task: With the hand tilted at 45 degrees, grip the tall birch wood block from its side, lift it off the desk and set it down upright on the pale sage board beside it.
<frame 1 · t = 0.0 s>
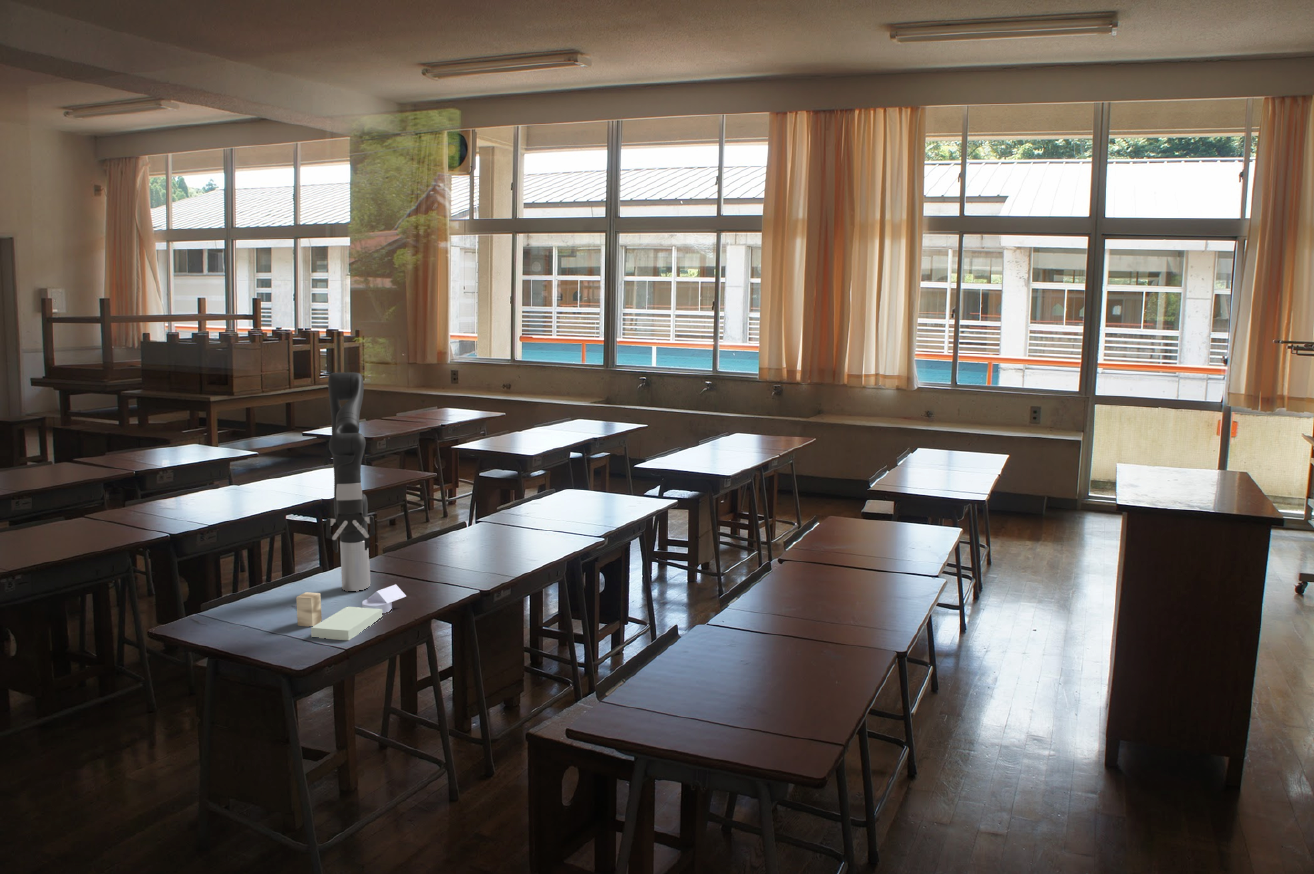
hand: (351, 551, 277), 22 cm above the table, tool pointing down, fingers open, 8 cm apart
birch block: (309, 623, 278), on the table
wedge on round base: (382, 610, 292), on the table
sage board: (348, 627, 275), on the table
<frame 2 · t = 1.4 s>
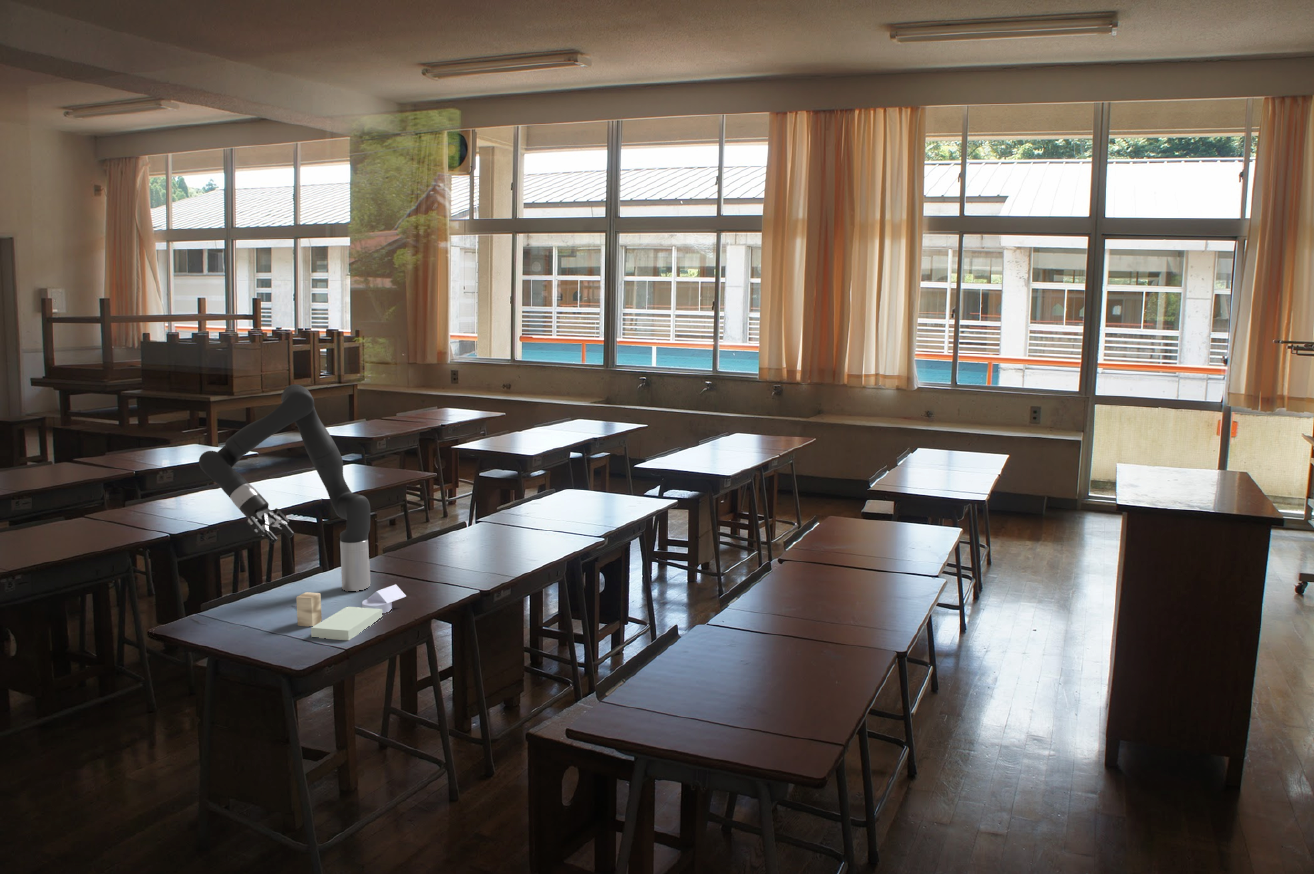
hand: (283, 538, 283), 25 cm above the table, tool tilted 45°, fingers open, 8 cm apart
nothing on the table moved.
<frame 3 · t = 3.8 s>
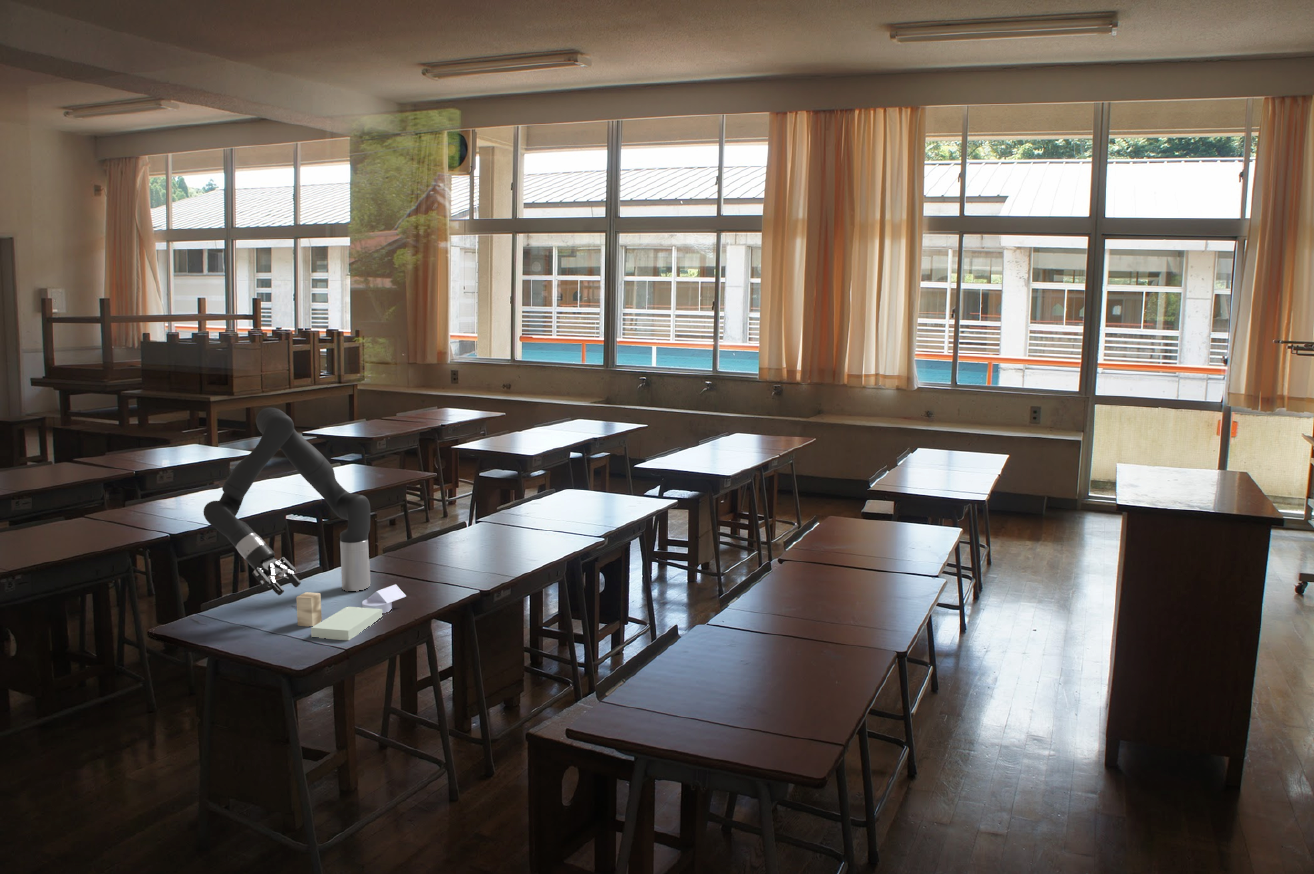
hand: (290, 589, 278), 10 cm above the table, tool tilted 45°, fingers open, 8 cm apart
nothing on the table moved.
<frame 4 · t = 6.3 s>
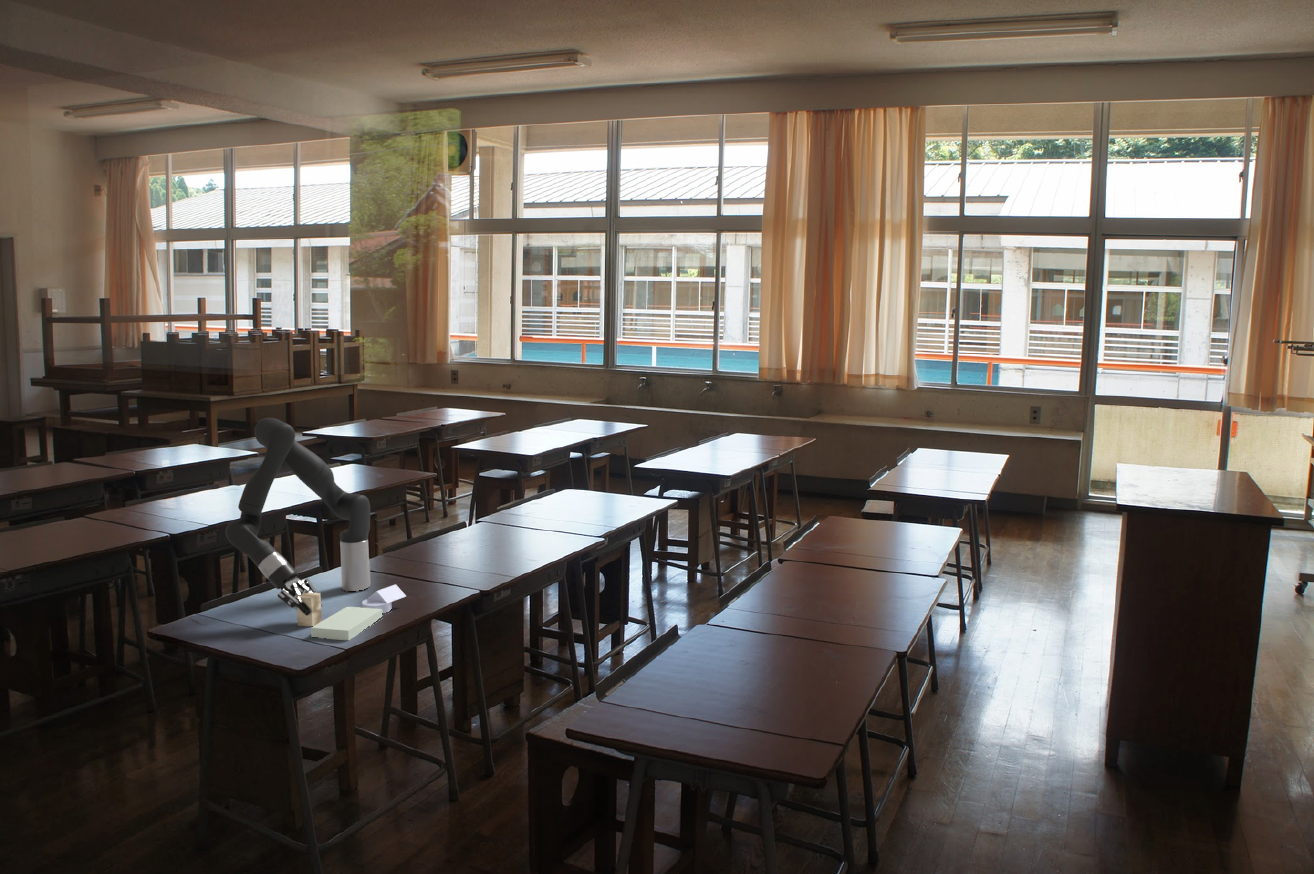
hand: (314, 610, 277), 4 cm above the table, tool tilted 45°, fingers closed on birch block, 5 cm apart
birch block: (309, 623, 278), on the table, touching gripper
everything else where it was.
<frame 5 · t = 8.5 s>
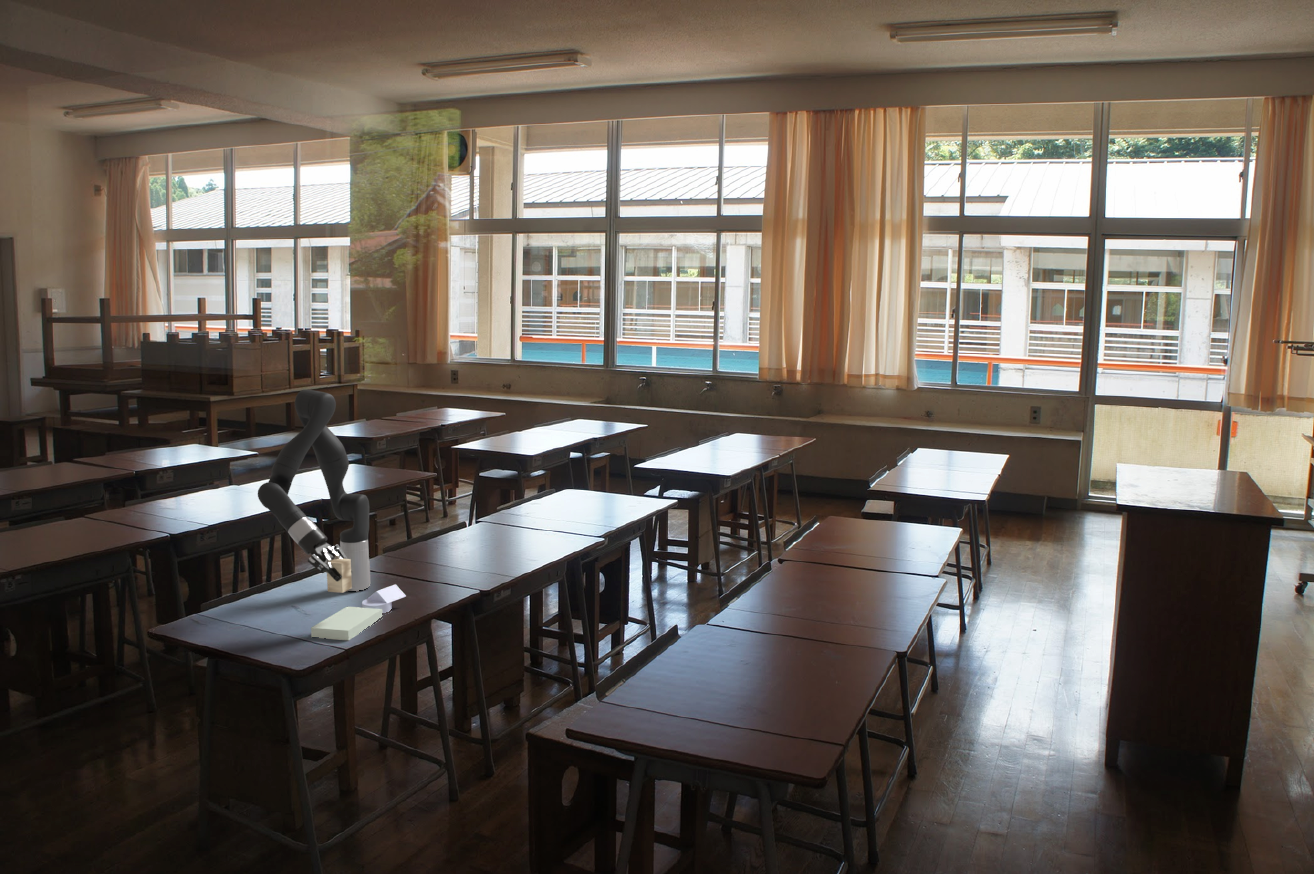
hand: (344, 576, 273), 16 cm above the table, tool tilted 45°, fingers closed on birch block, 5 cm apart
birch block: (339, 589, 273), point 12 cm above the table, touching gripper
everything else where it was.
when the fingers open (9 cm above the table, at t = 10.9 s): birch block drops 1 cm, resting on sage board.
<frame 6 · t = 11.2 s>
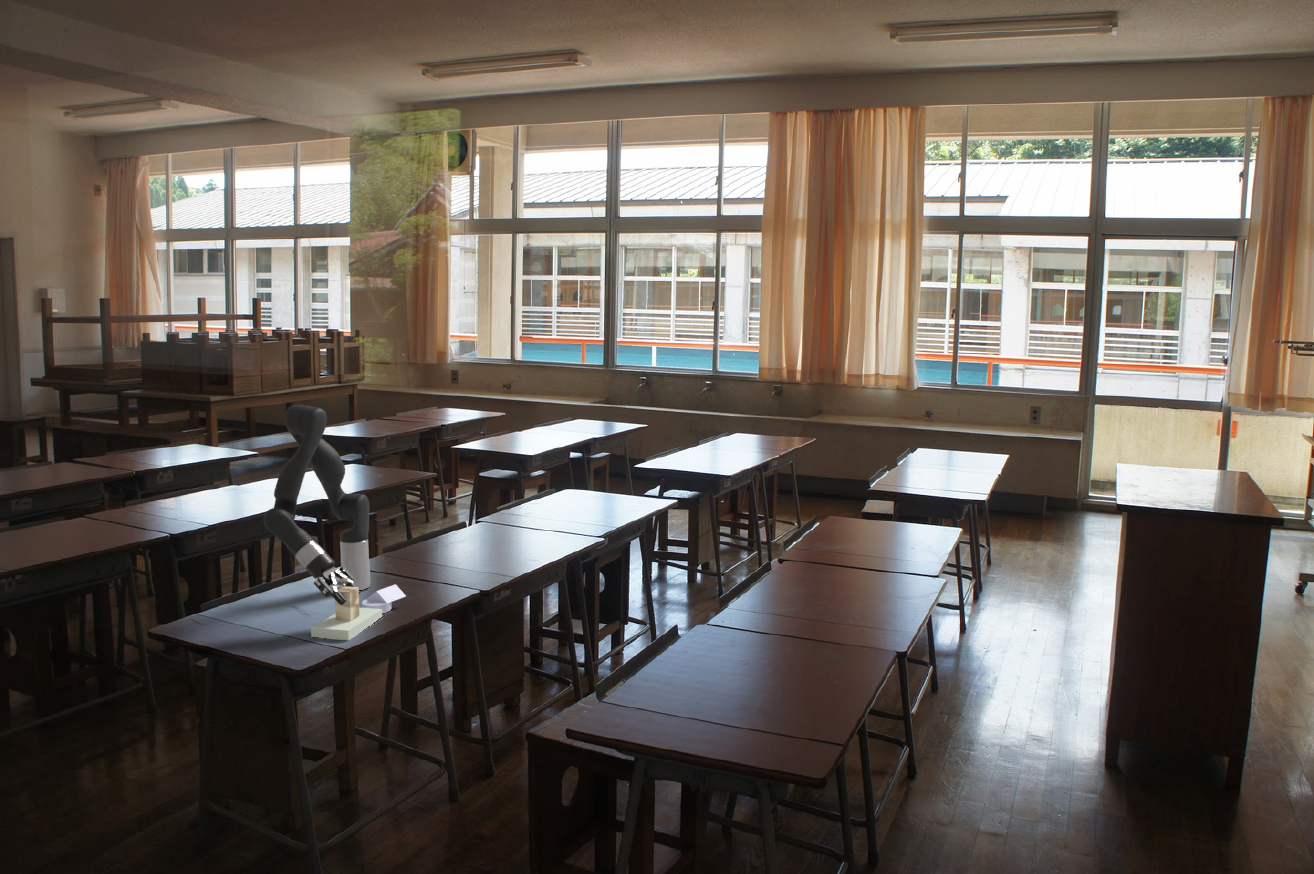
hand: (351, 599, 273), 9 cm above the table, tool tilted 45°, fingers open, 7 cm apart
birch block: (347, 617, 274), point 3 cm above the table, touching sage board
everything else where it was.
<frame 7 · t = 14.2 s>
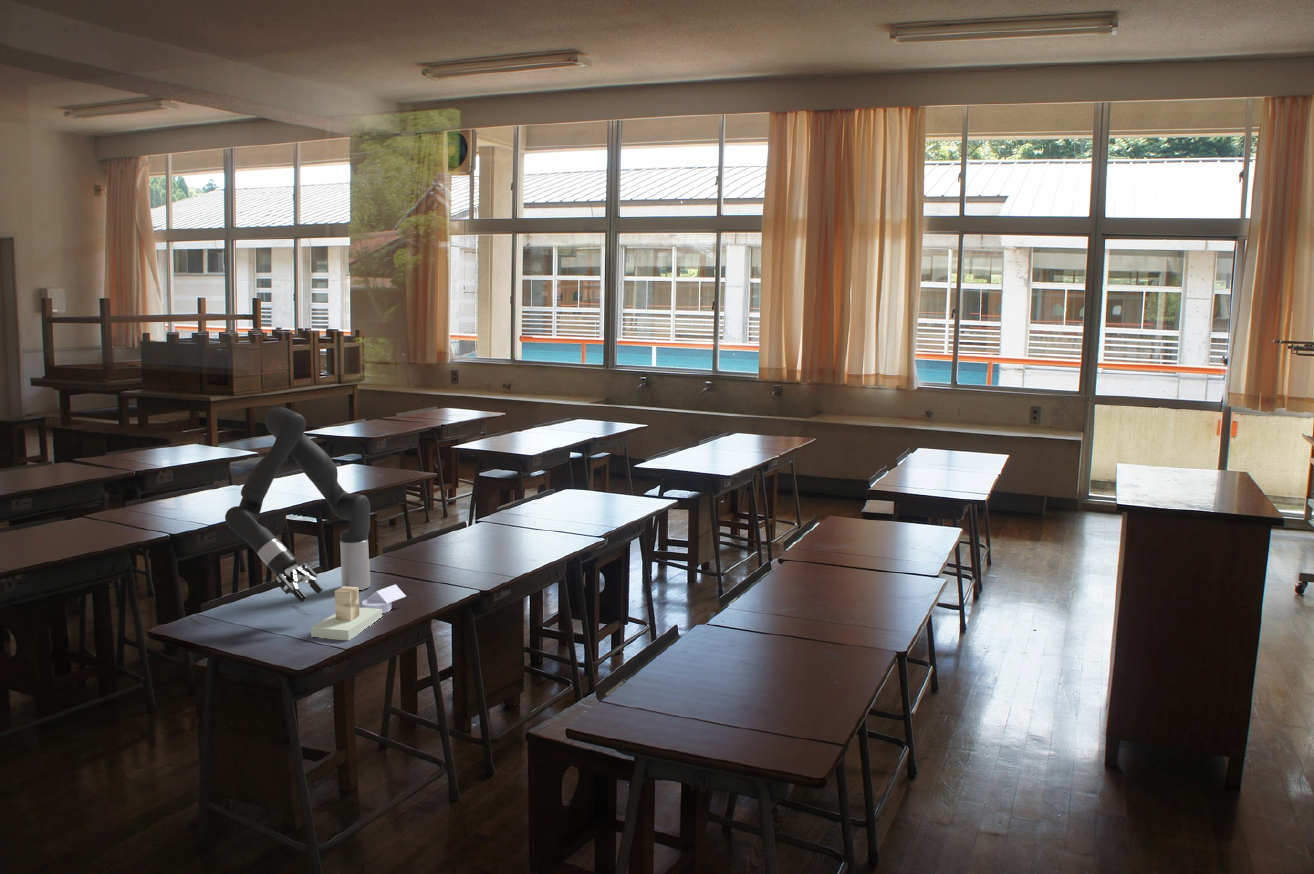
hand: (312, 595, 276), 9 cm above the table, tool tilted 45°, fingers open, 8 cm apart
nothing on the table moved.
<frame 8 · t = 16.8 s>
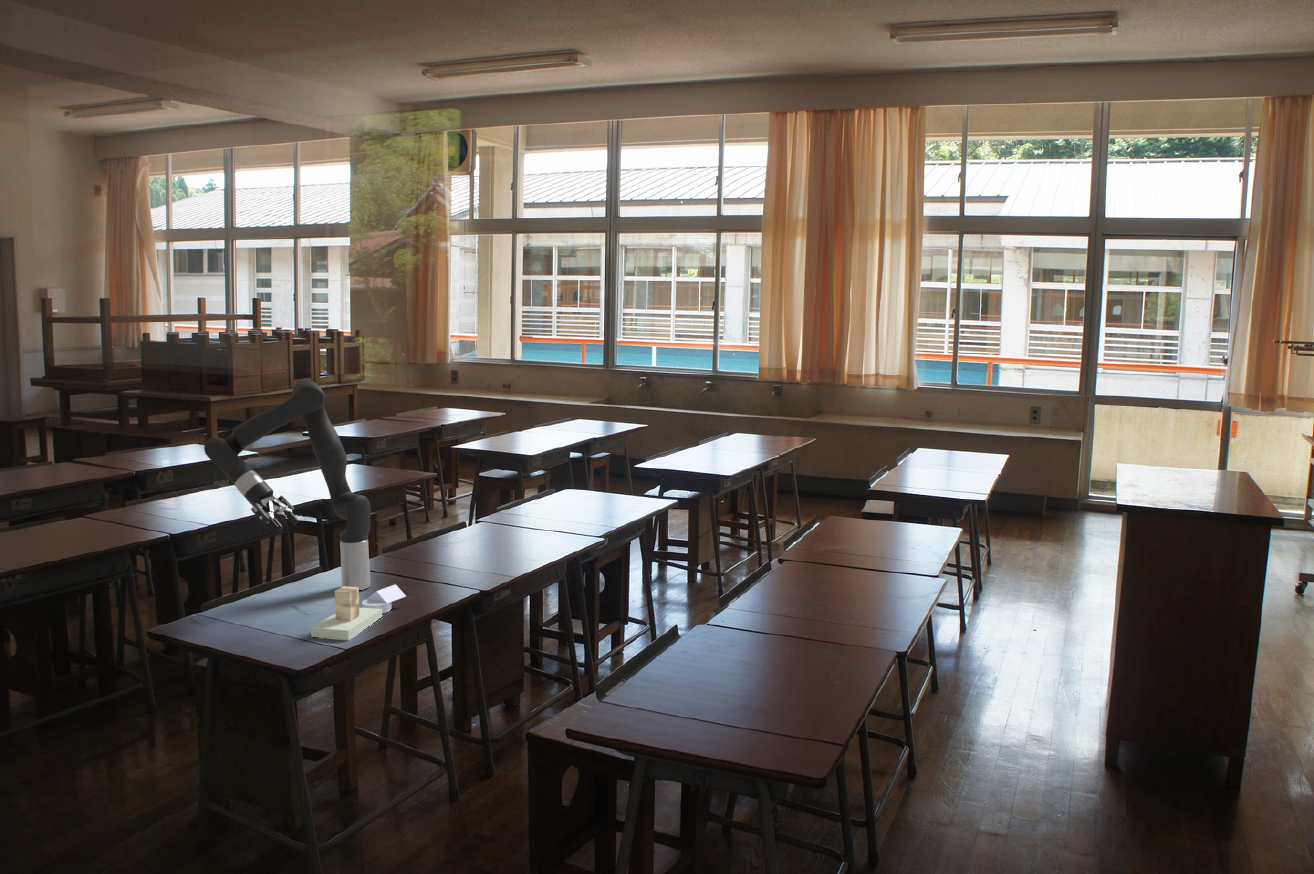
hand: (288, 526, 282), 29 cm above the table, tool tilted 45°, fingers open, 8 cm apart
nothing on the table moved.
at the end: birch block inside the target area on the sage board (0.1 cm from its centre), point 3.0 cm above the sage board's base; birch block tilted 0°; the gripper is holding nothing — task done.
